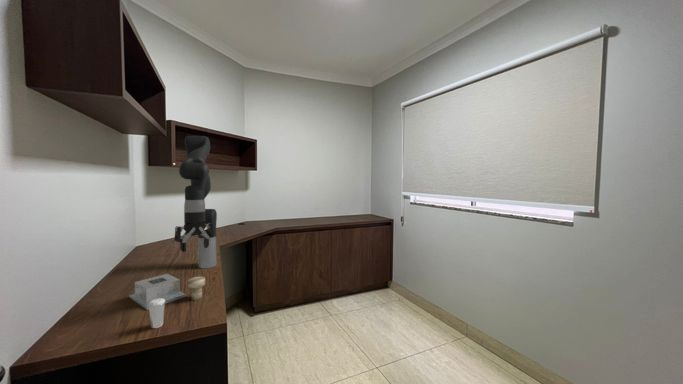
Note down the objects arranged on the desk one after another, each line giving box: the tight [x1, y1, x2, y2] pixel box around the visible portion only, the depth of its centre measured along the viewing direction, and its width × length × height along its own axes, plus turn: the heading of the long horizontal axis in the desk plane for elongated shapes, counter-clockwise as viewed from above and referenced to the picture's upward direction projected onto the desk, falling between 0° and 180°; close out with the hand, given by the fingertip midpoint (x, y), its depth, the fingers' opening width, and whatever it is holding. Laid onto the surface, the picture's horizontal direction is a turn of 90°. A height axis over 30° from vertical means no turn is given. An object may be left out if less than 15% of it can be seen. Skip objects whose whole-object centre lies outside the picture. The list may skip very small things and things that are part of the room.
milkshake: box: [148, 293, 166, 329], centre depth 86 cm, size 5×5×10 cm
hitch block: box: [128, 273, 187, 311], centre depth 107 cm, size 18×14×7 cm
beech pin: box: [187, 276, 206, 301], centre depth 107 cm, size 6×6×8 cm
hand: (195, 249), depth 105 cm, fingers open, 8 cm apart
